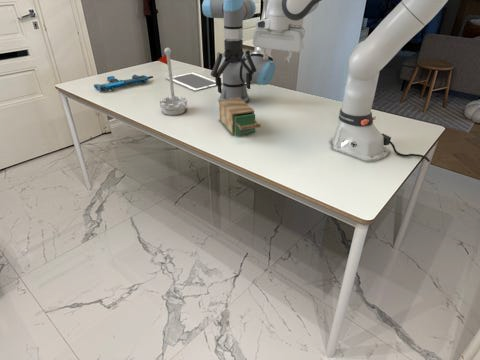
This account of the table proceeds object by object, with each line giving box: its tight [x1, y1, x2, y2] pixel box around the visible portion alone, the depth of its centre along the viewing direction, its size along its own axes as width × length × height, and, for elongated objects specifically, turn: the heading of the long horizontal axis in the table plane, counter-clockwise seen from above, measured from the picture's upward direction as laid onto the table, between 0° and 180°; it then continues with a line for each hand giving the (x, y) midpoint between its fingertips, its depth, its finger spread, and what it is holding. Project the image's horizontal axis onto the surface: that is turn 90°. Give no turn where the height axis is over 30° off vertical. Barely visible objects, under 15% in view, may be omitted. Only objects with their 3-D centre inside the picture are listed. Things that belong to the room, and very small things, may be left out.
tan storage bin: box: [218, 98, 255, 136], centre depth 152 cm, size 17×10×10 cm, turn 21°
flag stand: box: [157, 47, 188, 116], centre depth 161 cm, size 13×13×30 cm
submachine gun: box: [93, 74, 154, 92], centre depth 206 cm, size 34×4×25 cm
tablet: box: [166, 71, 223, 92], centre depth 210 cm, size 32×20×1 cm, turn 41°
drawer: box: [234, 113, 262, 136], centre depth 147 cm, size 22×9×8 cm, turn 21°
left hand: (234, 90), depth 149 cm, fingers open, 13 cm apart
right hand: (276, 60), depth 136 cm, fingers open, 8 cm apart
